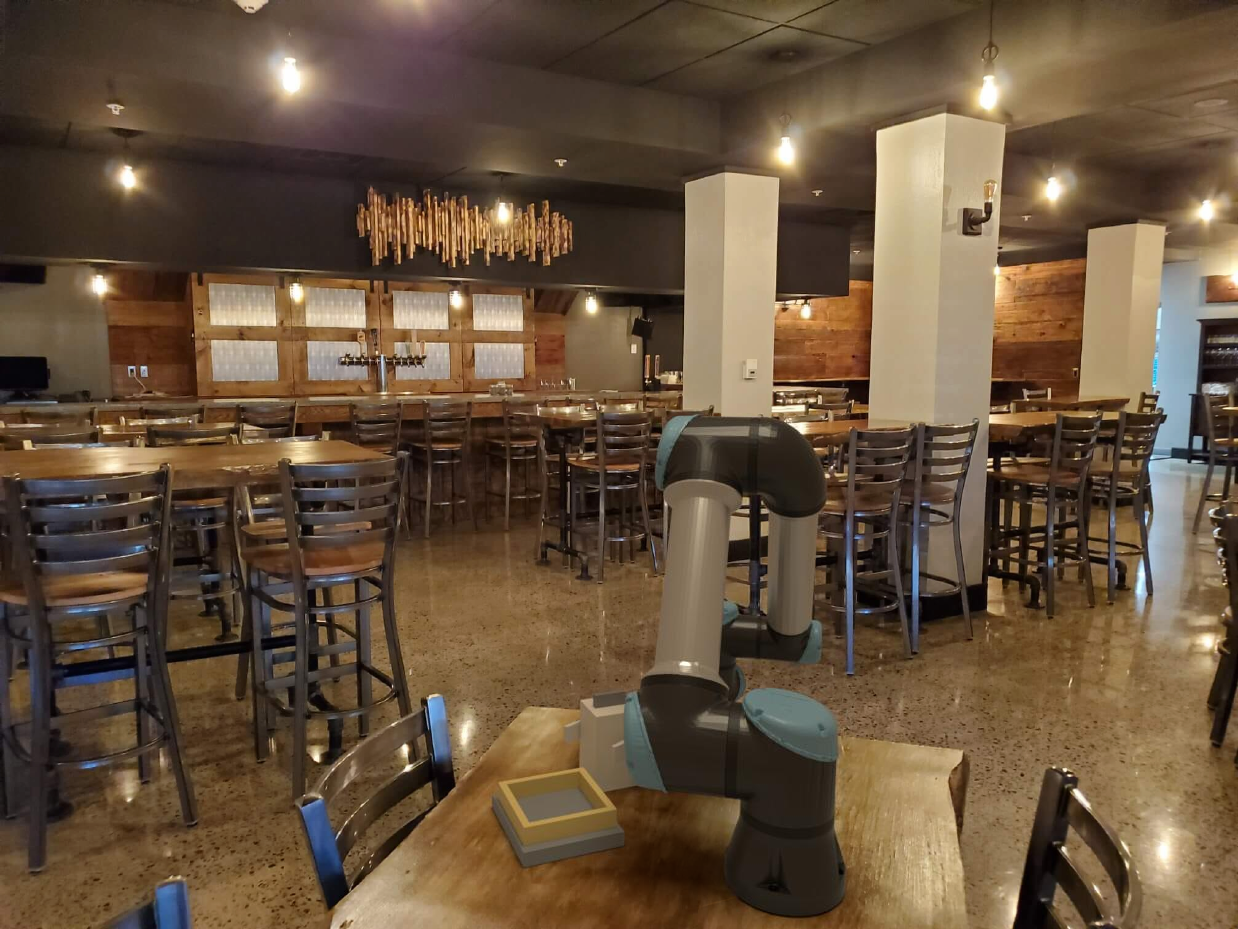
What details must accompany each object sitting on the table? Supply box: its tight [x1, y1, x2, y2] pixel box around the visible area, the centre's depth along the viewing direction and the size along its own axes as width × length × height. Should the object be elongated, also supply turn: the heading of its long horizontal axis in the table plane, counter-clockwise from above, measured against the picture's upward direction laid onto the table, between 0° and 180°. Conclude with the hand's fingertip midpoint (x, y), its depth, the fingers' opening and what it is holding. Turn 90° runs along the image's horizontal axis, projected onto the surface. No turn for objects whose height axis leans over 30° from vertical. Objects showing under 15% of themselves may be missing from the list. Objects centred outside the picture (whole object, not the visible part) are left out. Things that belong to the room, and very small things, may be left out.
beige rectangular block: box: [578, 689, 639, 793], centre depth 132 cm, size 7×7×14 cm
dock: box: [491, 767, 625, 869], centre depth 118 cm, size 16×14×4 cm
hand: (588, 745), depth 128 cm, fingers closed on beige rectangular block, 9 cm apart
